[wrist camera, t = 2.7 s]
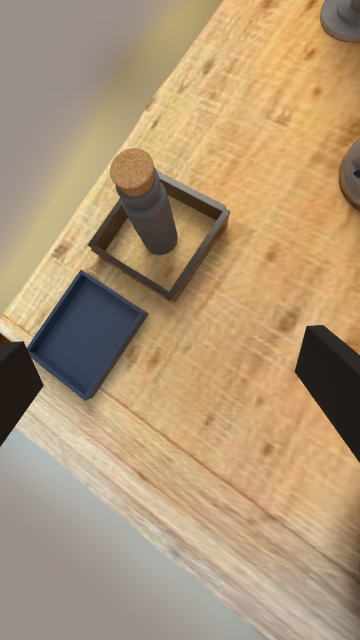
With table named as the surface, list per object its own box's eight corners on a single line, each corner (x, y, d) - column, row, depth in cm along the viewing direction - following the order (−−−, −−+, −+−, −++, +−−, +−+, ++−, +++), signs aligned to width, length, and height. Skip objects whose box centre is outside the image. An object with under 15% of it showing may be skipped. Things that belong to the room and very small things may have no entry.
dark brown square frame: (148, 178, 40) (143, 163, 36) (229, 221, 37) (231, 209, 33) (96, 255, 39) (86, 247, 36) (174, 305, 36) (171, 300, 33)
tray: (88, 274, 38) (80, 269, 36) (148, 314, 36) (144, 311, 34) (34, 351, 38) (23, 351, 36) (92, 397, 35) (85, 400, 33)
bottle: (141, 252, 38) (99, 190, 23) (148, 221, 38) (111, 141, 24) (174, 257, 37) (152, 195, 22) (180, 224, 38) (163, 144, 23)
